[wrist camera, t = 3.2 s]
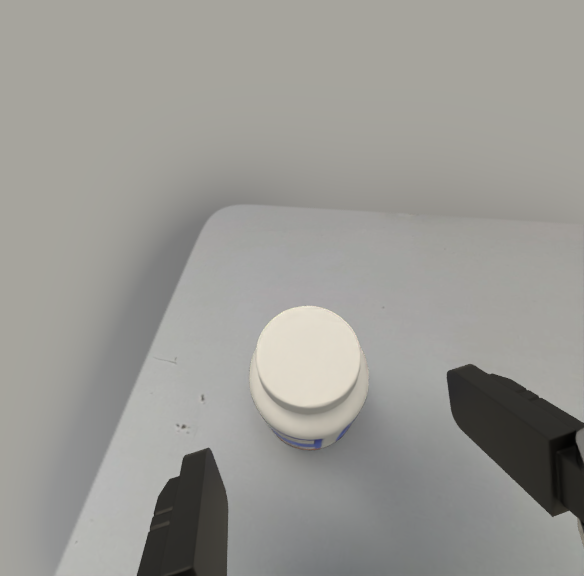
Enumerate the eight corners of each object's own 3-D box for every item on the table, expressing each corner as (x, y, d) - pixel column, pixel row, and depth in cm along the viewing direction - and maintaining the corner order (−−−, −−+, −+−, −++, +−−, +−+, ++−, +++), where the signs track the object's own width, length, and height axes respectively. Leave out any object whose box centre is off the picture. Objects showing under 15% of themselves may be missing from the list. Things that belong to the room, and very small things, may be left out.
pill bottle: (327, 349, 22) (338, 268, 14) (369, 427, 20) (412, 385, 11) (253, 382, 22) (217, 318, 13) (286, 469, 19) (267, 457, 11)
